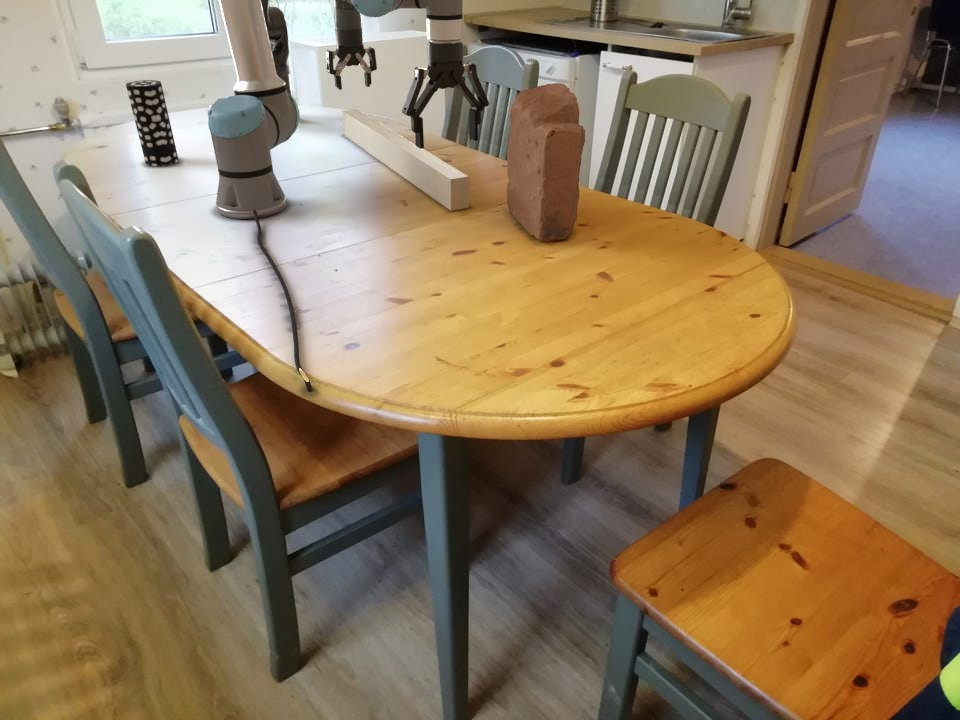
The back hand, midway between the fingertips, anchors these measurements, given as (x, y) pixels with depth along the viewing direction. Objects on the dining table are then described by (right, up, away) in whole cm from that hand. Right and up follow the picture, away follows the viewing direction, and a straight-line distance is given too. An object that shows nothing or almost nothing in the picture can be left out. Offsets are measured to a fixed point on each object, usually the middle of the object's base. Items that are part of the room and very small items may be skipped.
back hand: (353, 87), depth 200 cm
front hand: (+29, -30, -44) cm, 61 cm away
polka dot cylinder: (-49, -17, -19) cm, 56 cm away
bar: (+15, -27, -15) cm, 34 cm away
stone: (+51, -49, -48) cm, 85 cm away
